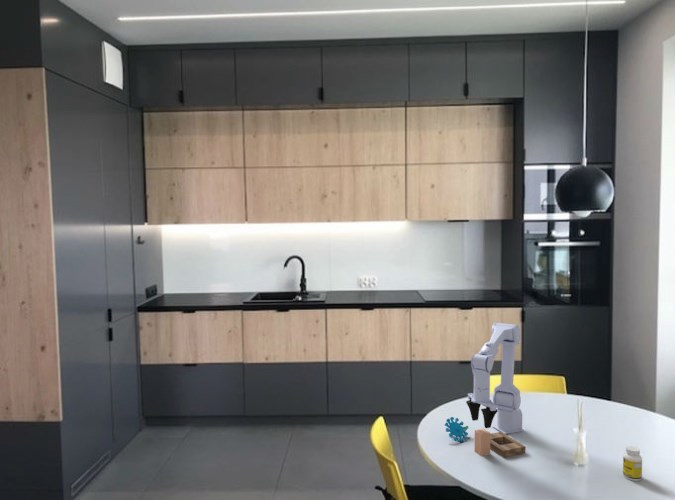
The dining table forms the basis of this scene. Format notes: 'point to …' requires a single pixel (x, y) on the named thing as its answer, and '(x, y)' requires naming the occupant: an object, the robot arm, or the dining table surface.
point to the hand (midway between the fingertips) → (481, 423)
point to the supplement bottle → (632, 464)
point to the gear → (456, 429)
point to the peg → (482, 442)
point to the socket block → (508, 449)
